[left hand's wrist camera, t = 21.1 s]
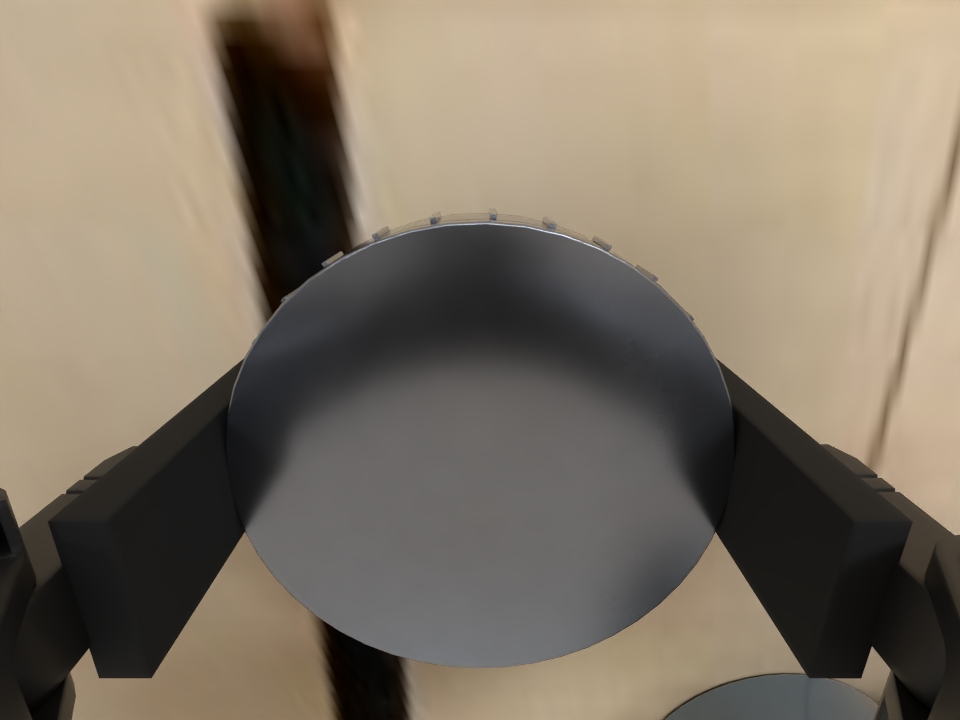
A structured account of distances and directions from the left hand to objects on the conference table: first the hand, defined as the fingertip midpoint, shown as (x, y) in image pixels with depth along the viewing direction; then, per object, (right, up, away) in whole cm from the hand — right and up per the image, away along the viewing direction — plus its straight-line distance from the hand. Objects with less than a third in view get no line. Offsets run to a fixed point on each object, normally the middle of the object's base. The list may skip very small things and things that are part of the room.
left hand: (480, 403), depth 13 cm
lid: (0, -1, -3) cm, 3 cm away
